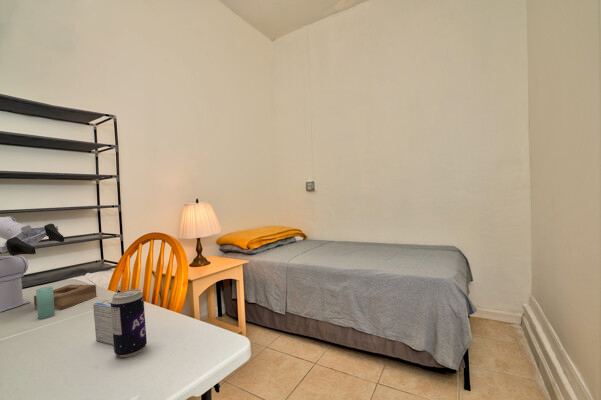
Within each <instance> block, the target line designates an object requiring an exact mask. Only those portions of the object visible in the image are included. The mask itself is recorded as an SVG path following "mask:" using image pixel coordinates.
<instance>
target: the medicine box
mask: <svg viewBox="0 0 601 400" xmlns="http://www.w3.org/2000/svg"><path fill="white" fill-rule="evenodd" d="M112 299H113V296H111V297H109V298H105V299H103V300H100V301H97V302H95V303H93V319H94V329H95V330H94V332H95V340H96V341H97V342H100V343H105V344H108V345H113V346H114V341H113V327H112V314H111V301H112Z"/></svg>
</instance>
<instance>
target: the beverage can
mask: <svg viewBox="0 0 601 400" xmlns="http://www.w3.org/2000/svg"><path fill="white" fill-rule="evenodd" d="M112 297H113V299H112V301H111V314H112V327H113V341H114V345H113V350H114V351H113V352H114V354H115V355H116V356H119V357H120V358H129V357H133V356H135V355H138V354H139V353H141V352H142V351H143V349H144V348H145V346H146V345H147V344H148V343H147V342H148V340H147V328H146V314H145V302H144V301H145V300H144V294H142V291H141V289H139V288H138V289H135V288H134V289H127V290H123V291H119V292H116V293H115V294H113V295H112Z"/></svg>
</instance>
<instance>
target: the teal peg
mask: <svg viewBox="0 0 601 400" xmlns="http://www.w3.org/2000/svg"><path fill="white" fill-rule="evenodd" d="M53 290H54V287H53V286H45V287H40V288H38V289H36V290H35V295H36V297H37V309H36V310H37V319H38V320H45V319H48V318H52V317H54V316H55V315H56V314H55V311H56V310H54V298H53Z"/></svg>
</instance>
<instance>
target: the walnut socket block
mask: <svg viewBox="0 0 601 400" xmlns="http://www.w3.org/2000/svg"><path fill="white" fill-rule="evenodd" d="M96 287H97V285H96V284H68V285H65V286H62V287H58V288H55V289H53V298H54V310H55V311H56V310H58V311H61V310H66V309H68V308H70V307H74V306H76V305H78V304H80V303H84V302H86V301H88V300H92V299H94V298H96V297H97V288H96ZM33 303H34V304H33V305H34V306H33V307H34V310H38V309H37V297H36V294H35V295H34V296H33Z"/></svg>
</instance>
